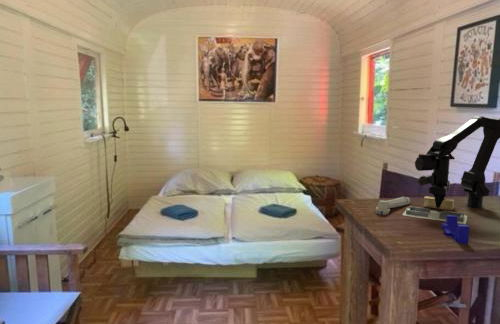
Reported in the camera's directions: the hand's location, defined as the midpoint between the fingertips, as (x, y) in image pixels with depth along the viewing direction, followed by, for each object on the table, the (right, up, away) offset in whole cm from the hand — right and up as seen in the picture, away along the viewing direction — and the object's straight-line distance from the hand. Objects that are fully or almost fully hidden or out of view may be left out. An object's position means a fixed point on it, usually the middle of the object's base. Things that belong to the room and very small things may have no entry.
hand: (438, 206), depth 159 cm
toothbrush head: (-19, -2, 0) cm, 19 cm away
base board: (-7, -3, -11) cm, 13 cm away
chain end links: (-7, -2, -11) cm, 13 cm away
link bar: (0, -2, 0) cm, 2 cm away
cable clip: (-10, -7, -31) cm, 34 cm away
